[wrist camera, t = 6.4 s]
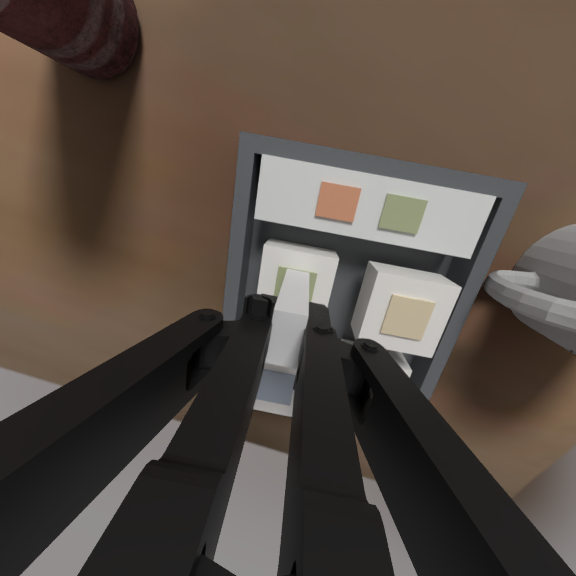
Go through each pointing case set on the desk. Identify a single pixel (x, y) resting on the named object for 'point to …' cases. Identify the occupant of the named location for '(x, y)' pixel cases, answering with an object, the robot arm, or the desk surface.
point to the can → (76, 32)
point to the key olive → (298, 268)
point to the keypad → (366, 226)
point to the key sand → (403, 308)
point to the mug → (543, 287)
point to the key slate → (276, 390)
